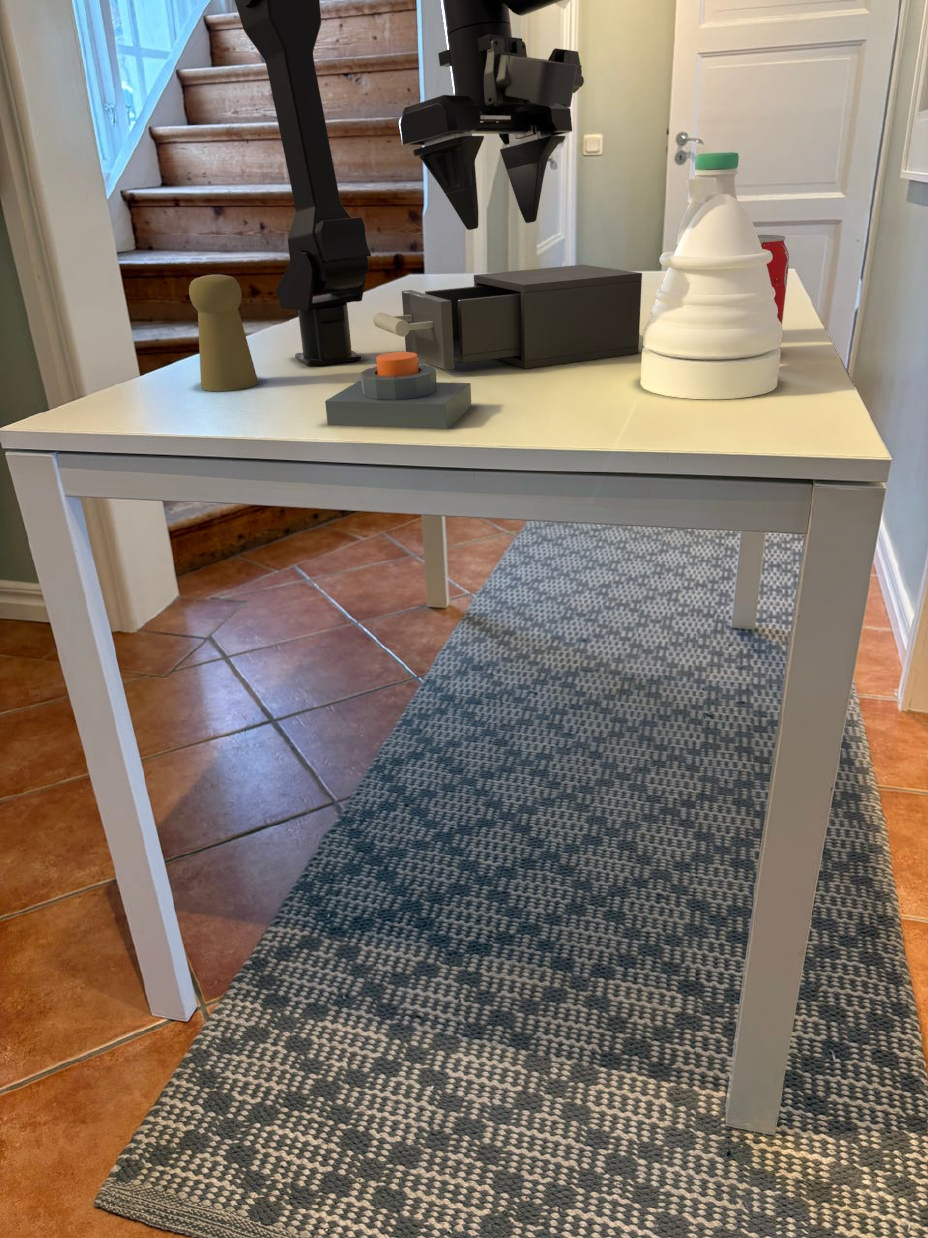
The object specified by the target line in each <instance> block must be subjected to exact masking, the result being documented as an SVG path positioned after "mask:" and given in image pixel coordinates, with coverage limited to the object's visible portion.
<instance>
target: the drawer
mask: <svg viewBox="0 0 928 1238" xmlns="http://www.w3.org/2000/svg"><path fill="white" fill-rule="evenodd" d="M401 301H402V302H401V303H402V312H403V313H402V314H401V315H390V314H387V313H385V312H377V313H376V314H374V316H373V325H374V326H375V327H376V328H378V329H381V330H383V331H386V332H389V333H391V334H394V335H396V336H399V337H404V343H405V352H412V353H416V354H417V356H418V360H421V361H424V362H426V363H428V364H430V365H432V366H435V367H437V368H440V369H442V370H444V371H446V370H452V369H455V361H457V362H460V363H462V364H465V363H473V362H480V361H481V362H482V361H488V360H496V359H497V358H505V357H512V356H520V355H522V350H521V292H518V291H513V290H509V289H504V288H499V287H495V286H490V285H484V286H474V285H473V286H465V287H455V288H446V289H445V288H444V289H435V290H425V291H424V292H419V291H416V290H412V289H407V290H402V291H401ZM497 360H498V359H497Z"/></svg>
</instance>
